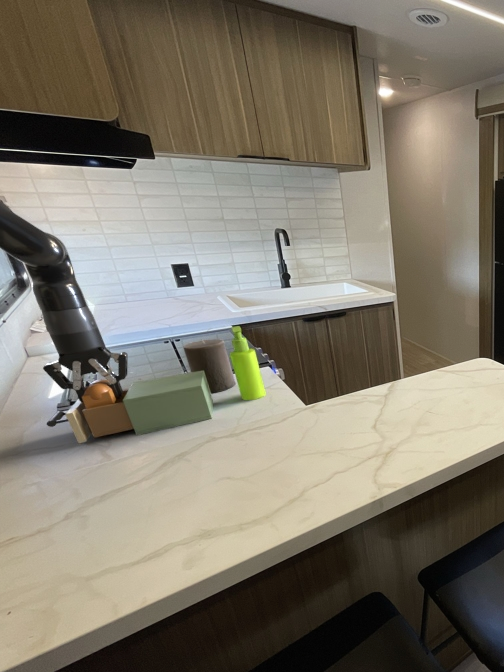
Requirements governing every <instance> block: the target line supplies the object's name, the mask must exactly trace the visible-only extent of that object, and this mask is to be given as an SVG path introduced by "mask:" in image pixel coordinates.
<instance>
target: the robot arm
mask: <svg viewBox="0 0 504 672" xmlns="http://www.w3.org/2000/svg"><path fill="white" fill-rule="evenodd" d="M0 249H1V250H2V251H3V252H5V253H6V254H8V255H9V256H11V257H13V258H14V259H15V260H17V261H19V262H21V263H23V264H24V266H25V269H26V270H27V273H28V275H29V277H30V280H31V289H32V293H33V296H34V298H35V300H36V303H37V305H38V307H39V309H40V312H41V315H42V320H43V323H44V325H45V329H46V332H48V334H49V336H50V339H51V340H52V341H51V342H52V344H53V345H54V347H55V350H56V352H57V354H58V359H57V360H56V361H53V362H48V363H46V364H45V365H43V367H42V370H43V371H44V372H45V373H46V374H47V375H48V376H49V377H50V379H52V380H53V381H54V382H55V383H56V385H58V387H60V389H62V390H74V391H75V393H76V395H77V398H78V399H79V400H80V401H81V402H82V403H83V399H82V396H83V395H84V392H85V390H86V388H87V386H85V385H84V384H85V381H84V380H85V375H88V374H90V373H91V374H92V373H93V374H96V373H99V375H100V376H102V377H104V378H105V380H108V381H109V382H110V387H111V389H112V391H113V393H114V396H115V398H116V399H118V398H120V397H121V395H122V394H123V390H124V389H123V388H122V385H121V383H120V381H122V380H125V379H126V377H127V376H128V352H126V351H122V352H120V353H119V352H111V351H110V350H109V349H108V348H107V346H106V344H105V341H104V339H103V336H102V334H101V332H100V329H99V326H98V324H97V321H96V319H95V316H94V314H93V312H92V311H91V309H90V306H89V305H88V303H87V301H86V297H85V296H84V293H83V291H82V288H81V287H80V285H79V282H78V281H77V278H76V274H75V270H74V266H73V263H72V260H71V258H70V255H69V252H68V249H67V247H66V245H65V244H64V242H63V241H62V240H61V239H60V238H58V237H57V236H55V235H53V234H51V233H49V232H46V231H44V230H42V229H40V228H39V227H37V226H35V225H34V224H32V223H30V222H29V221H27V219H24V218H23V217H21V216H20V215H18V214H17V213H15V212H14V211H13V210H12V209H11V207H9V206H8V205H6V204H5V203H4V202H3V201H1V200H0ZM111 359H113V360H114V363H116V364H118V365H117V367H118V369H117V370H118V372H117V374H116V373H115V372H114V371H113V369H112V368H111V367H110V366H109V362H110V360H111ZM62 366H63V367H64V368H66V369H68V370H70V372H72V381H71V380H70V379H69V378H68V377H67V376H66V375H65V374H64V372H62V370H63V368H62Z"/></svg>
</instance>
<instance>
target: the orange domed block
mask: <svg viewBox="0 0 504 672" xmlns="http://www.w3.org/2000/svg"><path fill="white" fill-rule="evenodd" d="M82 399H83V402H84V404H85V406H86V408H87V409H89V408H94V407H99V406H105V405H110V404H114V403H115V402H116V400H117V399H116V398H115V396H114V393H113V391H112V389H111V387H110V382H109V381H108V380H107V379H102V378H101V379H96V380H93V381H92V382H90V384H89V385H88V386H86V390H85V392H84V395H83V396H82Z"/></svg>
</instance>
